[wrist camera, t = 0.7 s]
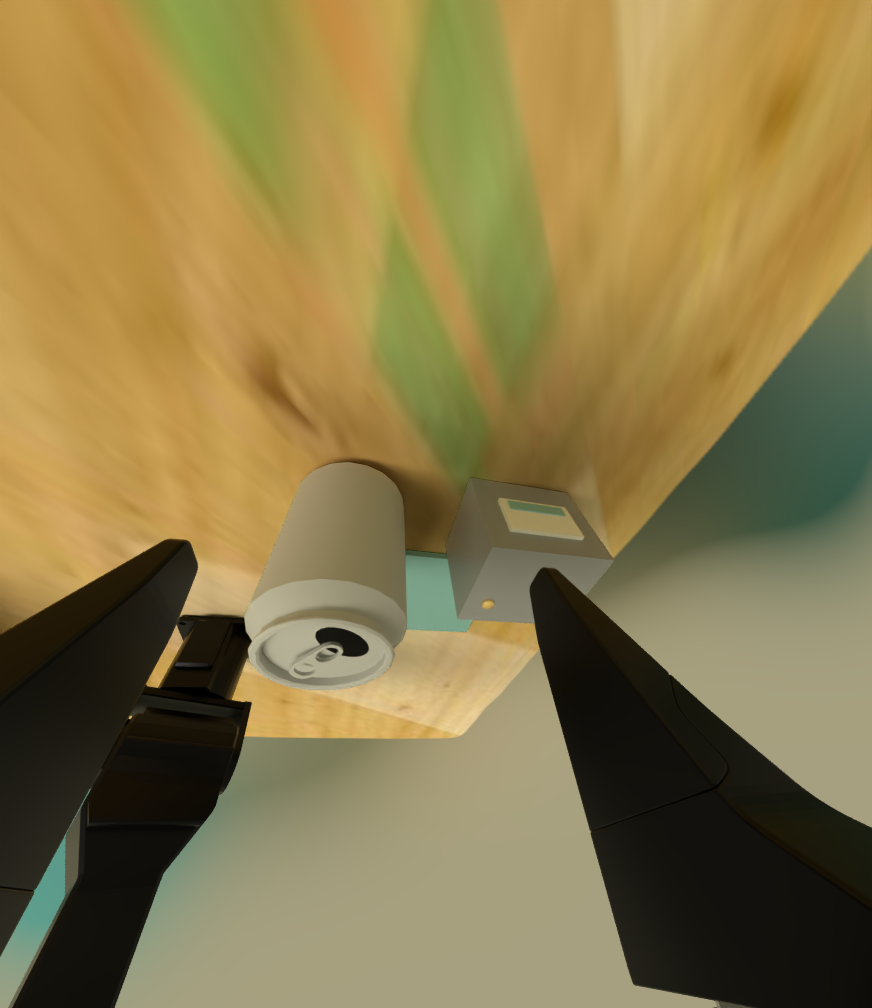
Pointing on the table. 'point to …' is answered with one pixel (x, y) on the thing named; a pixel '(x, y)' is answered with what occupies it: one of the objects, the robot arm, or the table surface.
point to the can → (333, 583)
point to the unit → (517, 548)
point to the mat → (430, 594)
